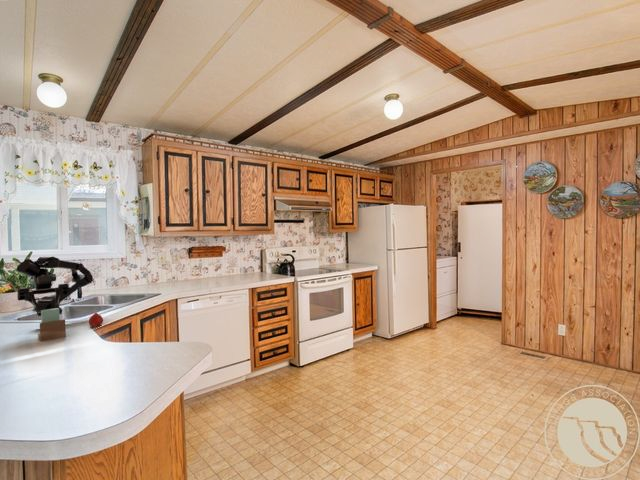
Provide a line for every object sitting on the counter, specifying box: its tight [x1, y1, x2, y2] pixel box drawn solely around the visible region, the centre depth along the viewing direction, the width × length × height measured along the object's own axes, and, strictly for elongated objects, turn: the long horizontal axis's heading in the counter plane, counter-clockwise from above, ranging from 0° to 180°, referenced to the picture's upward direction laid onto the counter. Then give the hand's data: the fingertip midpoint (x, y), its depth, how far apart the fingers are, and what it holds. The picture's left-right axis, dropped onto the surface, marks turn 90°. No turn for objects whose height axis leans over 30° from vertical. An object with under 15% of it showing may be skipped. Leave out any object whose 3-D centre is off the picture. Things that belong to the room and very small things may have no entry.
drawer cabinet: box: [37, 318, 67, 343], centre depth 152 cm, size 14×9×9 cm, turn 46°
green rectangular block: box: [40, 308, 61, 323], centre depth 151 cm, size 3×6×12 cm, turn 136°
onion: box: [88, 311, 104, 328], centre depth 167 cm, size 6×6×8 cm
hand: (46, 306), depth 157 cm, fingers open, 7 cm apart
